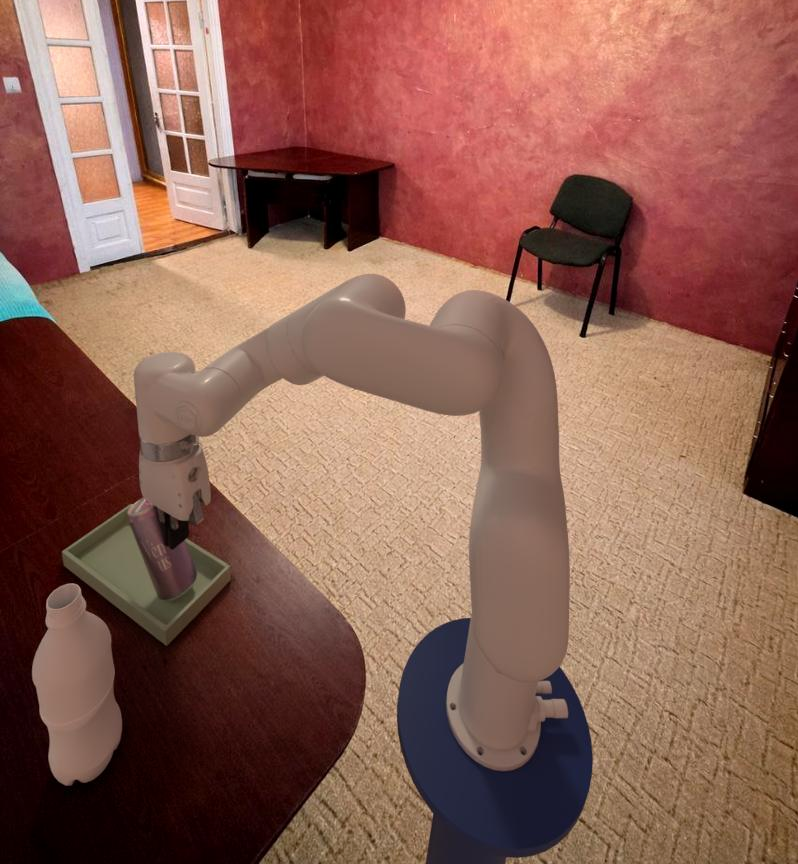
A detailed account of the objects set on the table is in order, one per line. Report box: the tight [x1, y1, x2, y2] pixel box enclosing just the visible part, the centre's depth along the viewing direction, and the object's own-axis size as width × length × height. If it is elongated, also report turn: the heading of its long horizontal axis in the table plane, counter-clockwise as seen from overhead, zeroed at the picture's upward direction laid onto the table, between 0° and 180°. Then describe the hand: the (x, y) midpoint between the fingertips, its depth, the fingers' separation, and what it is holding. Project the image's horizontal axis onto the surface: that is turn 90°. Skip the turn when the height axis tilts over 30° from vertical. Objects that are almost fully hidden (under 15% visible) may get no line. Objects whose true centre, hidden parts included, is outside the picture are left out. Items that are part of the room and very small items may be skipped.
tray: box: [61, 503, 232, 647], centre depth 79 cm, size 25×12×3 cm, turn 62°
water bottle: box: [31, 583, 123, 787], centre depth 54 cm, size 7×7×25 cm
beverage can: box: [127, 496, 197, 601], centre depth 75 cm, size 6×6×15 cm
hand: (177, 540), depth 73 cm, fingers closed
